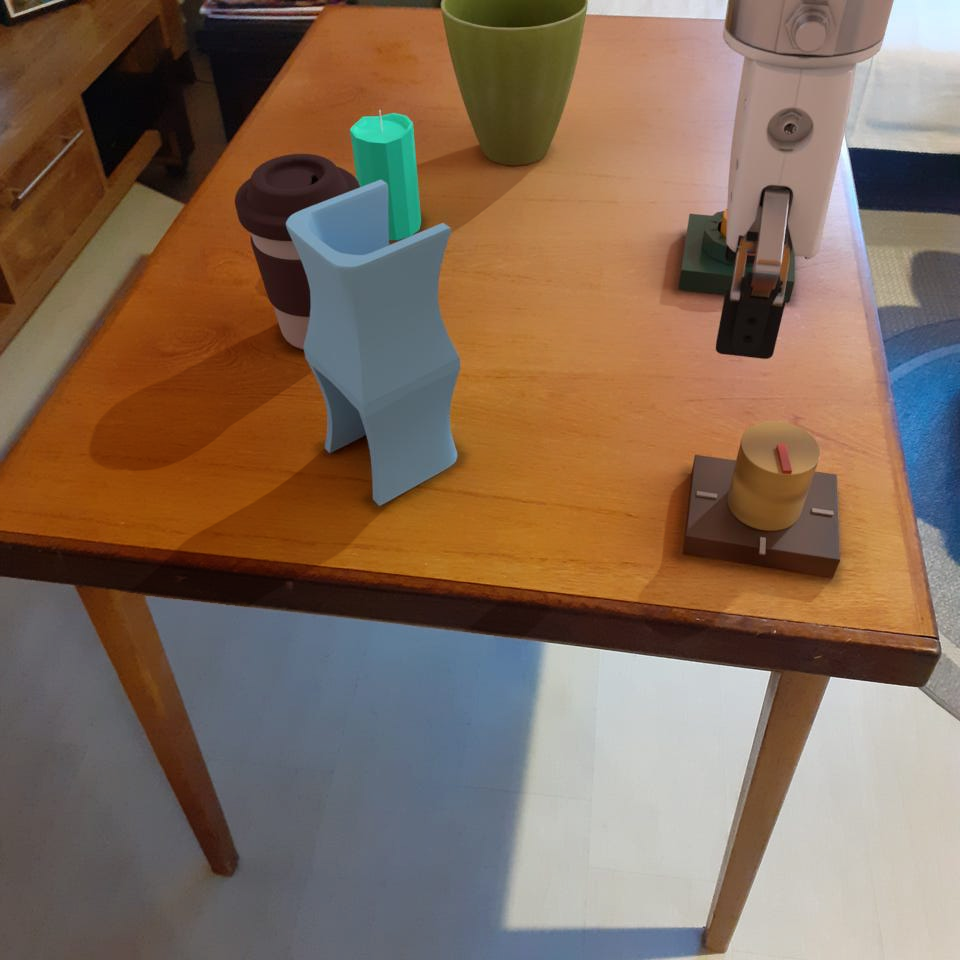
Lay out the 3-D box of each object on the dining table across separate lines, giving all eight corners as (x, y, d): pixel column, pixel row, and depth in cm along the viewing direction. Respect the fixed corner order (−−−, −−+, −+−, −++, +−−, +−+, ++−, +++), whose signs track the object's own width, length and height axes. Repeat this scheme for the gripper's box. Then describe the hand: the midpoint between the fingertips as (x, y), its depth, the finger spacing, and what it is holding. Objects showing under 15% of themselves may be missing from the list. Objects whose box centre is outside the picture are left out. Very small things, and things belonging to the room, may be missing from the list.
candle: (430, 214, 96) (421, 100, 87) (408, 244, 92) (397, 128, 83) (377, 206, 97) (363, 93, 88) (353, 235, 93) (336, 120, 84)
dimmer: (830, 487, 67) (837, 466, 66) (833, 585, 61) (841, 565, 60) (691, 467, 69) (695, 447, 68) (681, 561, 63) (685, 541, 62)
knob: (723, 477, 66) (737, 416, 61) (794, 478, 65) (813, 418, 61) (732, 530, 62) (747, 470, 58) (807, 532, 62) (828, 472, 58)
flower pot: (423, 146, 106) (412, -2, 95) (524, 109, 112) (525, -35, 100) (502, 197, 98) (501, 41, 86) (607, 154, 103) (618, 2, 92)
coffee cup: (244, 339, 82) (202, 183, 71) (317, 284, 87) (289, 132, 76) (328, 377, 78) (298, 218, 67) (400, 318, 83) (383, 162, 72)
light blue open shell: (465, 458, 71) (452, 227, 56) (379, 506, 67) (342, 274, 53) (407, 405, 75) (382, 178, 61) (324, 448, 72) (276, 218, 57)
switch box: (790, 243, 90) (799, 206, 87) (789, 302, 83) (799, 264, 80) (686, 233, 92) (692, 196, 89) (677, 290, 85) (683, 252, 82)
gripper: (904, 87, 37) (811, 404, 50) (879, -48, 49) (809, 236, 61) (716, 76, 39) (671, 387, 51) (735, -53, 50) (695, 226, 63)
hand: (746, 304), depth 56 cm, fingers open, 9 cm apart
